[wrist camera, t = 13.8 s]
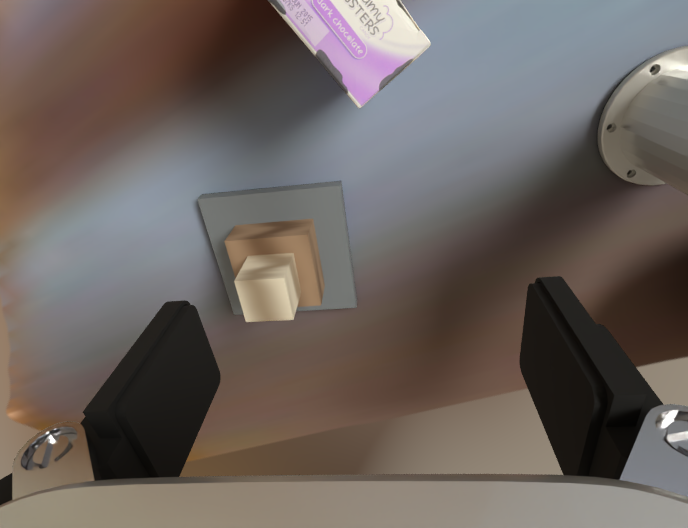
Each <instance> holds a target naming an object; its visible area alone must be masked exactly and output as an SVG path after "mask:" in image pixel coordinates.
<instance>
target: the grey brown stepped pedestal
mask: <svg viewBox="0 0 688 528" xmlns="http://www.w3.org/2000/svg"><path fill="white" fill-rule="evenodd" d="M197 200H198V203H199V206H200V209H201V213H202V216H203V219H204V222H205V225H206V228H207V231H208V235H209V238H210V241H211V244H212V247H213V250H214V253H215V257H216V260H217V263H218V266H219V269H220V272H221V276H222V279H223V282H224V285H225V288H226V291H227V294H228V298H229V301H230V304H231V307H232V310H233V313H234V315H240V314H244V313H243V310H242V307H241V303H240V300H239V296H238V293H237V289H236V286H235V283H234V280H235V279H236V277H237V275H238V273H239V271H240V269H241V268H242V266H243V264H244V262H245V260H246V259H247V257H248V256H255V255H270V254H284V253H294V258H295V263H296V268H297V273H298V278H299V283H300V288H301V295H300V298H299V302H298V305H297V309H296V311H308V310H324V309H341V308H357V296H356V289H355V281H354V274H353V266H352V258H351V251H350V243H349V236H348V228H347V220H346V213H345V205H344V198H343V190H342V183H341V181H334V182H324V183H314V184H303V185H293V186H283V187H273V188H262V189H252V190H242V191H232V192H221V193H211V194H202V195H201V196H200V197H199V198H198V199H197Z"/></svg>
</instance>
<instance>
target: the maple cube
mask: <svg viewBox="0 0 688 528" xmlns="http://www.w3.org/2000/svg"><path fill="white" fill-rule="evenodd" d="M234 283H235V286H236V289H237V293H238V296H239V300H240V303H241V307H242V310H243V313H244V317H245V320H246V322H257V321H277V320H294V316H295V313H296V309H297V305H298V302H299V298H300V295H301V288H300V283H299V278H298V273H297V268H296V263H295V258H294V253H284V254H270V255H255V256H248V257H247V259H246V260H245V262H244V264H243V266H242V268H241V269H240V271H239V273H238V275H237V277H236V279H235V280H234Z"/></svg>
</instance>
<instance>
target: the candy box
mask: <svg viewBox="0 0 688 528" xmlns="http://www.w3.org/2000/svg"><path fill="white" fill-rule="evenodd" d="M268 1H269V2H270V3H271V5H272V6H273V7H274V8H275V9H276V11H277V12H278V13H279V14H280V15H281V16H282V18H283V19H284V20H285V21H286V22H287V24H288V25H289V26H290V27H291V28H292V29H293V31H294V32H295V33H296V34H297V35H298V37H299V38H300V39H301V40H302V41H303V42H304V44H305V45H306V46H307V47H308V48H309V50H310V51H311V52H312V53H313V54H314V56H315V57H316V58H317V59H318V60H319V62H320V63H321V64H322V65H323V67H324V68H325V69H326V70H327V71H328V73H329V74H330V75H331V76H332V77H333V79H334V80H335V81H336V82H337V83H338V84H339V86H340V87H341V88H342V89H343V90H344V91H345V93H346V94H347V95H348V96H349V97H350V99H351V100H352V101H353V102H354V103H355V104H356V106H357V107H358V108H361V107H362V106H363V105H364V104H366V103H367V102H368V101H369V100H370V99H371V98H372V97H373V96H375V95H376V94H377V93H378V92H379V91H380V90H381V89H383V88H384V87H385V86H386V85H387V84H388V83H389V82H391V81H392V80H393V79H394V78H395V77H396V76H397V75H399V74H400V73H401V72H402V71H403V70H404V69H405V68H407V67H408V66H409V65H410V64H411V63H412V62H413V61H414V60H416V59H417V58H418V57H419V56H420V55H421V54H422V53H423V52H424V51H425V50H426V49H428V48H429V47H430V45H431V43H430V41H429V39H428V38H427V37H426V36H425V34H424V33H423V32H422V31H421V30H420V28H419V27H418V25H417V24H416V23H415V21H414V20H413V18H412V17H411V15H410V14H409V12H408V11H407V9H406V8H405V6H404V5H403V3H402V2H401V1H400V0H268Z"/></svg>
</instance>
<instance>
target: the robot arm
mask: <svg viewBox="0 0 688 528" xmlns="http://www.w3.org/2000/svg"><path fill="white" fill-rule="evenodd" d="M651 67H652V69H651ZM650 69H651V71H650ZM609 124H610V126H609V127H608V128H607V126H608V125H609ZM598 147H599V152H600V155H601V157H602V159H603V161H604V163H605V164H606V165H607V167H608V168H609V169H610V170H611V171H612V172H614V173H615V174H616V175H618V176H619V177H621V178H622V179H624V180H626V181H628V182H632V183H635V184H639V185H650V186H651V185H663V184H669V185H671V186H672V187H674V188H676V189H678V190H679V191H681V192H683V193H685V194H687V195H688V46H682V47H678V48H674V49H671V50H668V51H665V52H663V53H661V54H658V55H656V56H654V57H652V58H650V59H649V60H647V61H646V62H644V63H643V64H641V65H640V66H639V67H637V68H636V69H635V70H634V71H632V72H631V73H630V74H629V75H628V76H627V77H626V78H625V79H624V80H623V81H622V82H621V83H620V85H619V86H618V87H617V88H616V89H615V91H614V92H613V94H612V95H611V97H610V99H609V100H608V102H607V104H606V106H605V108H604V110H603V113H602V115H601V118H600V122H599V127H598ZM628 171H629V172H628ZM520 368H521V372H522V375H523V377H524V380H525V382H526V385H527V387H528V390H529V392H530V394H531V397H532V399H533V402H534V404H535V407H536V409H537V411H538V414H539V416H540V419H541V421H542V423H543V426H544V428H545V431H546V433H547V435H548V438H549V441H550V443H551V446H552V448H553V450H554V453H555V455H556V458H557V460H558V462H559V465H560V467H561V470H562V472H563V475H530V474H529V475H528V474H391V475H390V474H386V475H385V474H382V475H380V474H379V475H288V476H287V475H277V476H215V477H214V476H212V477H179V476H180V473H181V471H182V469H183V467H184V464H185V462H186V460H187V457H188V455H189V453H190V451H191V448H192V446H193V444H194V441H195V439H196V437H197V434H198V432H199V430H200V428H201V425H202V423H203V421H204V418H205V416H206V414H207V411H208V409H209V407H210V405H211V402H212V400H213V398H214V395H215V393H216V391H217V389H218V386H219V383H220V371H219V368H218V366H217V363H216V360H215V358H214V355H213V352H212V349H211V347H210V344H209V341H208V339H207V336H206V333H205V331H204V328H203V325H202V322H201V320H200V317H199V314H198V312H197V309H196V307H195V306H194V305H190V303H189V302H188V301H172V302H166V303H165V304H164V305H163V306H162V308H161V309H160V310H159V312H158V313H157V314H156V316H155V317H154V318H153V319H152V321H151V322H150V323H149V325H148V326H147V327H146V329H145V330H144V331H143V333H142V334H141V335H140V337H139V338H138V339H137V341H136V342H135V343H134V345H133V346H132V347H131V349H130V350H129V351H128V353H127V354H126V355H125V357H124V358H123V359H122V361H121V362H120V363H119V365H118V366H117V367H116V369H115V370H114V371H113V373H112V374H111V375H110V377H109V378H108V379H107V381H106V382H105V383H104V385H103V386H102V387H101V388H100V390H99V391H98V392H97V394H96V395H95V396H94V398H93V399H92V400H91V402H90V403H89V404H88V406H87V407H86V408H85V410H84V411H83V413H84V415H85V416H86V417H85V418H84V419H83V421H82V422H81V423H78V422H74V421H66V422H62V423H58V424H55V425H53V426H50V427H48V428H46V429H44V430H43V431H41V432H39V433H38V434H36V435H35V436H34V437H32V438H31V439H30V440H29V441H27V443H26V444H25V445H24V446H23V447H22V448H21V449H20V450H19V452H18V454H17V455H16V457H15V459H14V463H13V471H12V473H11V474H10V475H8V476H6V477H4V478H3V479H1V480H0V528H688V407H687V406H682V405H675V404H667V405H663V403H662V402H661V401H660V399H659V398H658V397H657V395H656V394H655V393H654V391H653V390H652V389H651V387H650V386H649V385H648V383H647V382H646V381H645V379H644V378H643V377H642V375H641V374H640V372H639V371H638V370H637V368H636V367H635V366H634V364H633V363H632V362H631V360H630V359H629V358H628V356H627V355H626V354H625V352H624V351H623V350H622V348H621V347H620V346H619V344H618V343H617V342H616V340H615V339H614V338H613V336H612V335H611V334H610V332H609V331H608V330H607V329H606V328H605V327H604V326H603V325H601V324H595V322H594V321H593V319H592V318H591V317H590V315H589V314H588V313H587V311H586V310H585V308H584V307H583V306H582V304H581V303H580V301H579V300H578V299H577V297H576V296H575V294H574V293H573V292H572V290H571V289H570V288H569V286H568V285H567V283H566V282H565V281H564V279H563V278H562V277H560V276H557V277H542V278H537V279H536V281H535V283H533V284H529V286H528V291H527V300H526V308H525V317H524V326H523V335H522V343H521V352H520Z"/></svg>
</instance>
